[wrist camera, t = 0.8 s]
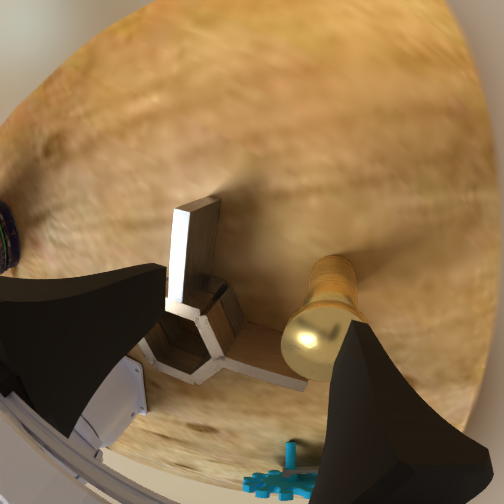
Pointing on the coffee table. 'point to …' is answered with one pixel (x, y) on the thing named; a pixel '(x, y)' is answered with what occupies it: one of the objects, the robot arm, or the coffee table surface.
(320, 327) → the hinge pin
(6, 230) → the storage jar
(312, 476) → the gear
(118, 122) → the coffee table surface
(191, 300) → the hinge
